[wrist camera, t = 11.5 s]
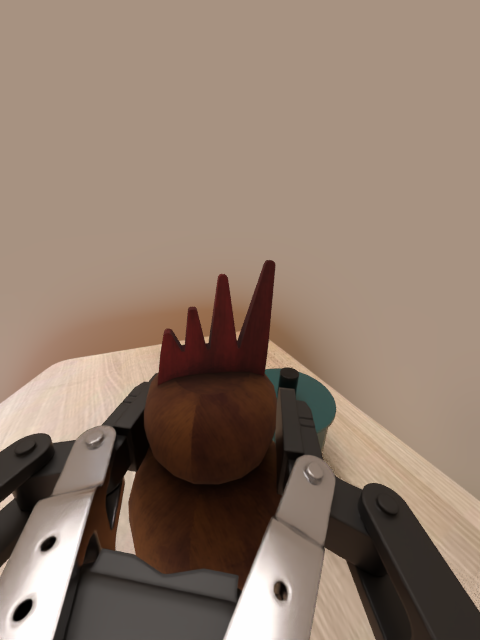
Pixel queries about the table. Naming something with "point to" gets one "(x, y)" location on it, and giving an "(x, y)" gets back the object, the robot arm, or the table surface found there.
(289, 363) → the table surface
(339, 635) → the table surface
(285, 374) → the pot lid
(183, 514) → the wooden figurine
